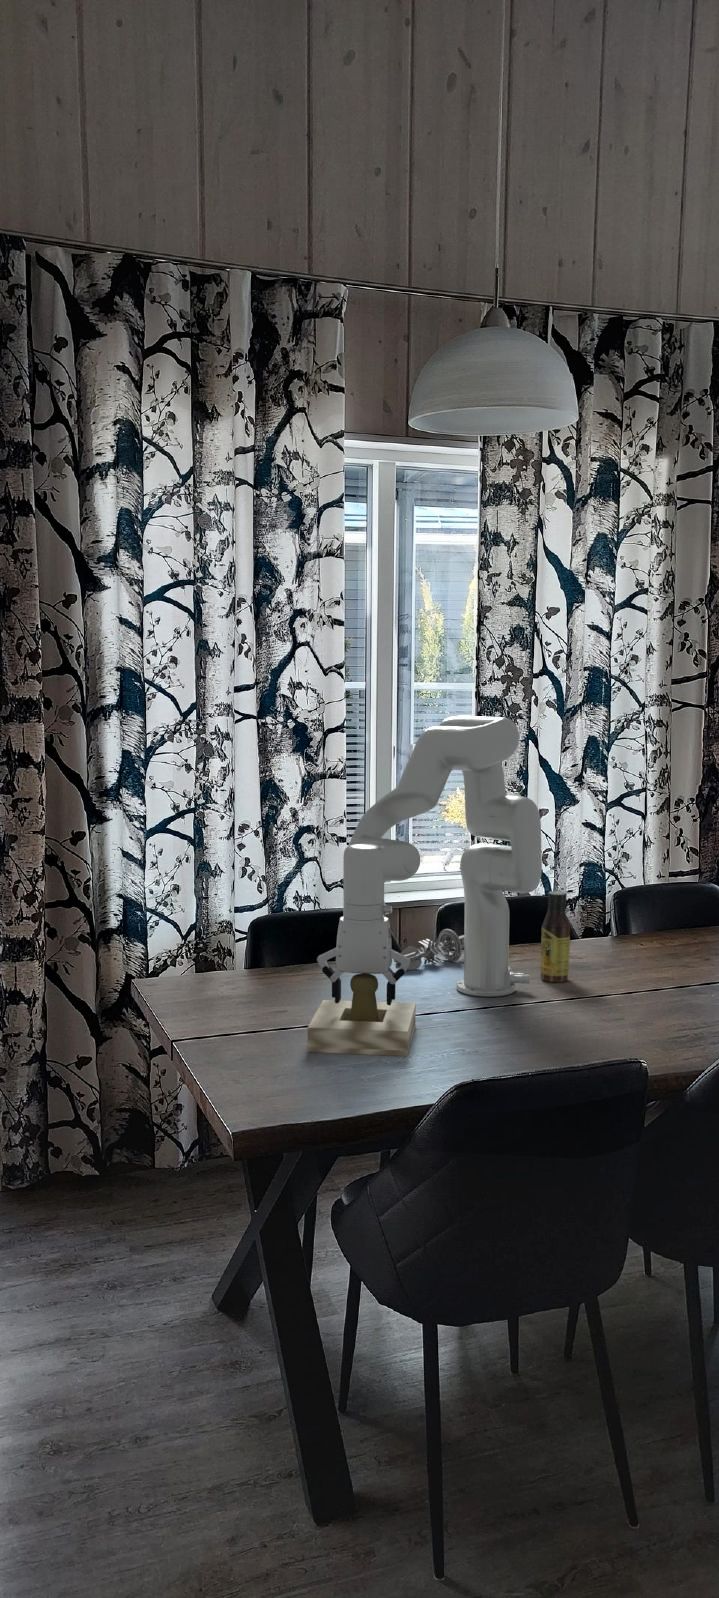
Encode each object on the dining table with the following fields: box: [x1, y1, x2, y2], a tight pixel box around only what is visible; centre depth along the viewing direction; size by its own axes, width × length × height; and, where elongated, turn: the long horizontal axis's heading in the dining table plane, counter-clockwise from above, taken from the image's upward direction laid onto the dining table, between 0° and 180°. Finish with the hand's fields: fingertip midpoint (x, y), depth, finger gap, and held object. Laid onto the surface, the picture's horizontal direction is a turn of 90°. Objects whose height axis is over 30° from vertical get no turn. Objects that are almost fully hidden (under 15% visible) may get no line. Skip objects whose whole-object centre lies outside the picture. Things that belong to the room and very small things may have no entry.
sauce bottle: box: [539, 890, 571, 983], centre depth 257 cm, size 6×6×20 cm
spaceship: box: [393, 928, 464, 971], centre depth 275 cm, size 8×35×8 cm
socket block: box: [307, 999, 417, 1057], centre depth 216 cm, size 18×18×4 cm
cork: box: [349, 973, 379, 1022], centre depth 216 cm, size 6×6×11 cm
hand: (363, 1002), depth 216 cm, fingers open, 9 cm apart
